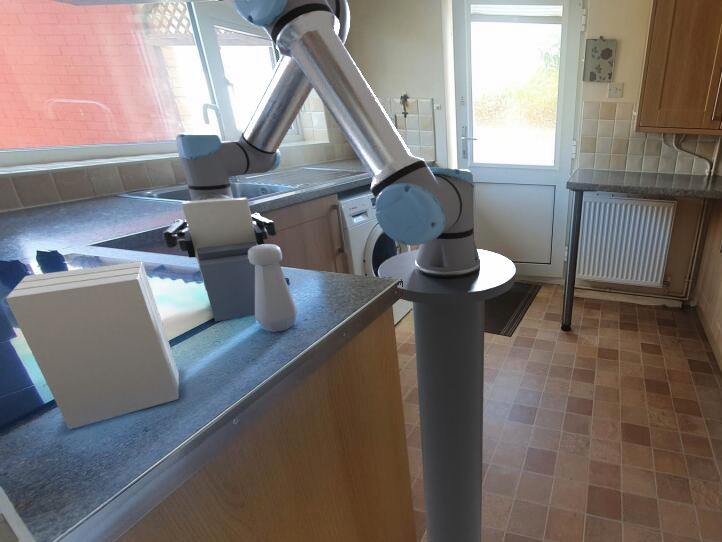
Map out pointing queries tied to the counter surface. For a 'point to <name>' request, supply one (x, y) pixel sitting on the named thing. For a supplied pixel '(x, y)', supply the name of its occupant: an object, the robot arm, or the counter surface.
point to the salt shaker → (271, 289)
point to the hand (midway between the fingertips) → (227, 244)
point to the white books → (97, 340)
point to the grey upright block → (229, 279)
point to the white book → (219, 222)
